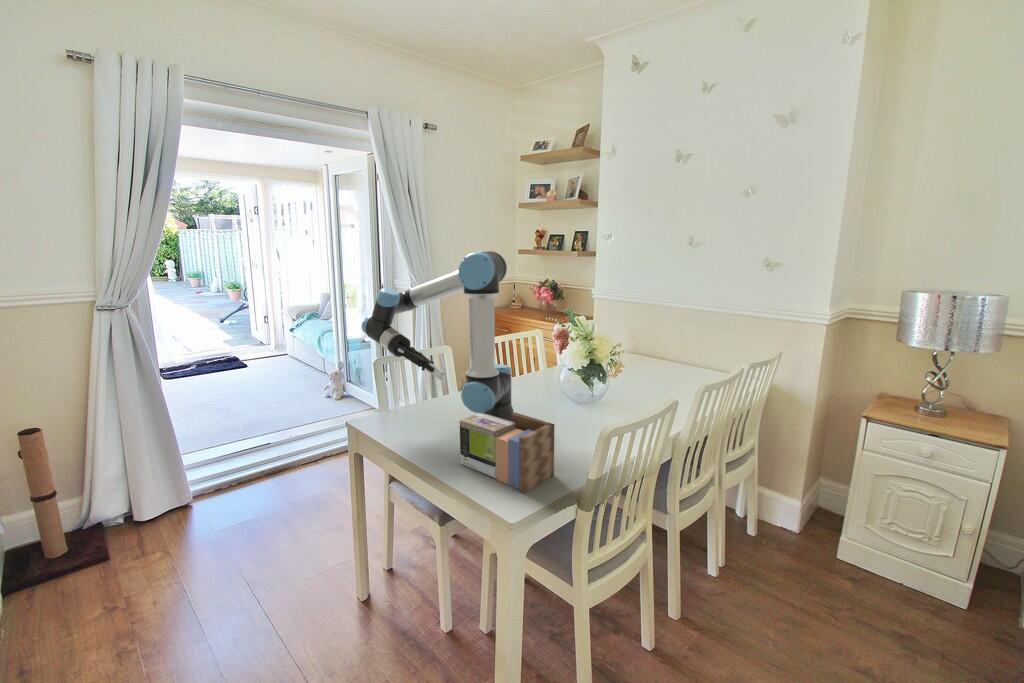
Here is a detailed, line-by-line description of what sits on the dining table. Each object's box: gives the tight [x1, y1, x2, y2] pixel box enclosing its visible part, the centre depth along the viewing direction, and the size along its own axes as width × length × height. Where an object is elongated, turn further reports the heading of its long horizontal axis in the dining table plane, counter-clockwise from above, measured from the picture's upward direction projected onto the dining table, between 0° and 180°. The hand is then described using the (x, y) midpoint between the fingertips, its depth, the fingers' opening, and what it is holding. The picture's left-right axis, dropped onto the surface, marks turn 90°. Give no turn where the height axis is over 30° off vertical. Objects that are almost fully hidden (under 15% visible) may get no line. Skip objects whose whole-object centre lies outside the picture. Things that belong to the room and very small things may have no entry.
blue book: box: [507, 429, 532, 490], centre depth 136 cm, size 9×4×14 cm, turn 140°
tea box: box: [459, 413, 516, 479], centre depth 145 cm, size 15×10×15 cm
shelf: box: [512, 412, 555, 494], centre depth 139 cm, size 14×15×16 cm
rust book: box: [495, 428, 523, 485], centre depth 139 cm, size 9×5×13 cm, turn 140°
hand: (441, 375), depth 158 cm, fingers closed
